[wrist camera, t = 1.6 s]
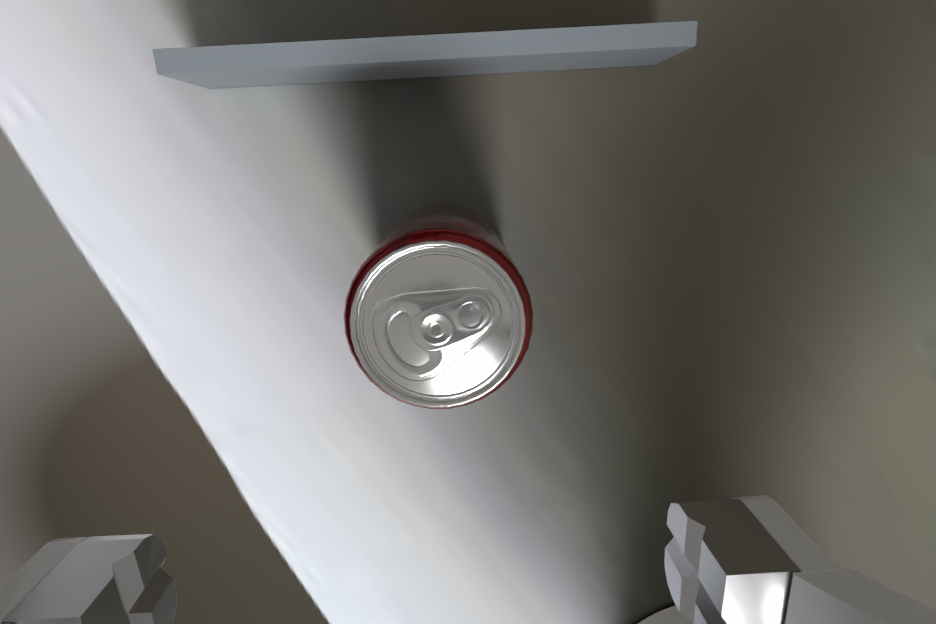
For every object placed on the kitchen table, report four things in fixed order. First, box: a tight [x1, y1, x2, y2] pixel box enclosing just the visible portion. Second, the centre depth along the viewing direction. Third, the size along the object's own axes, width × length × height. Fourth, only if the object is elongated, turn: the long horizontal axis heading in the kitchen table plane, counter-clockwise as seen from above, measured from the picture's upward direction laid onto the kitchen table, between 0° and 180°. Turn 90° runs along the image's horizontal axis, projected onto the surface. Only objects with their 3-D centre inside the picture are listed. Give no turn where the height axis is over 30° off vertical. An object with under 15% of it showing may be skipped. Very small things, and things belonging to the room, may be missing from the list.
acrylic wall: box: [153, 21, 698, 89], centre depth 25 cm, size 24×1×5 cm, turn 93°
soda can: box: [344, 204, 533, 409], centre depth 25 cm, size 7×7×12 cm
